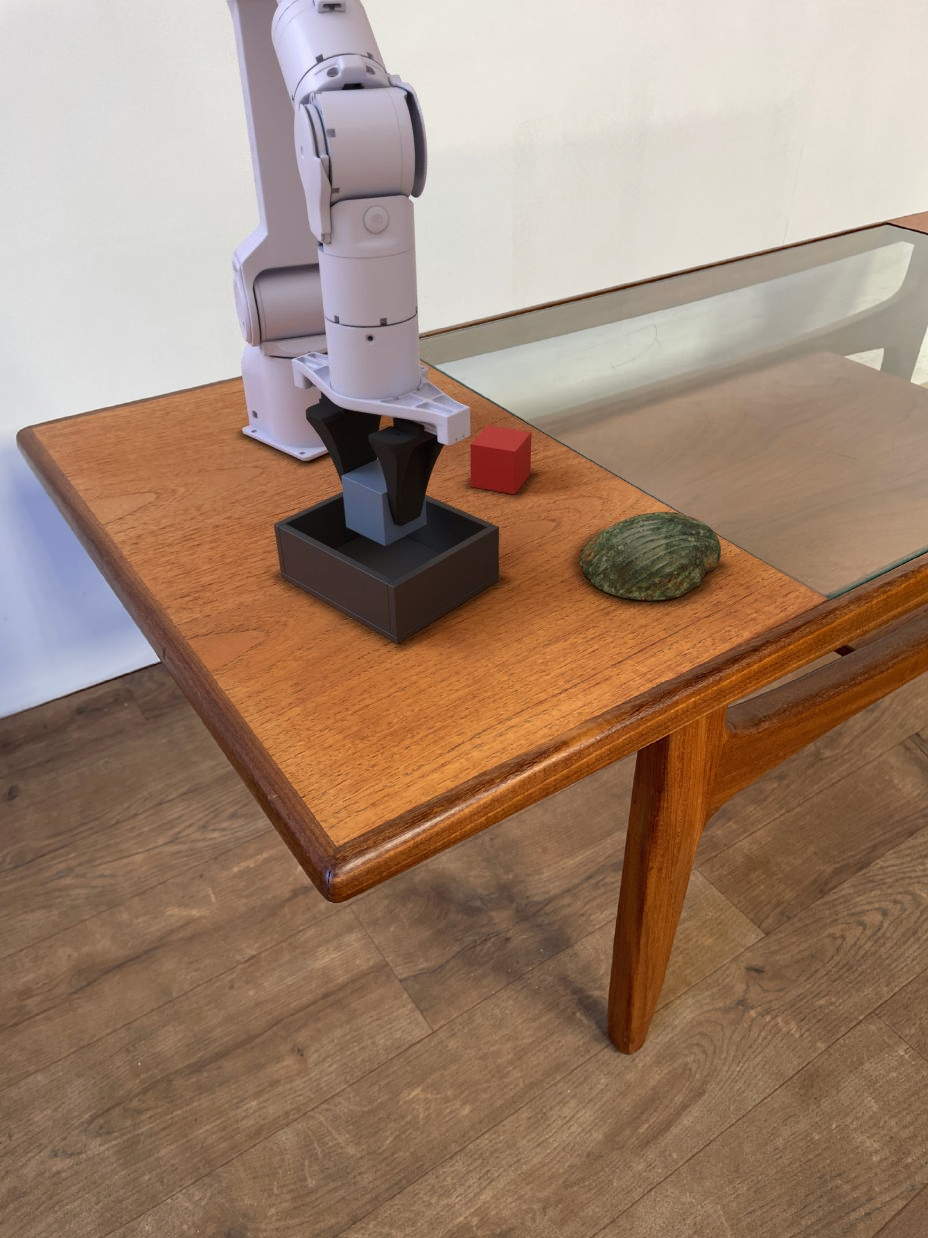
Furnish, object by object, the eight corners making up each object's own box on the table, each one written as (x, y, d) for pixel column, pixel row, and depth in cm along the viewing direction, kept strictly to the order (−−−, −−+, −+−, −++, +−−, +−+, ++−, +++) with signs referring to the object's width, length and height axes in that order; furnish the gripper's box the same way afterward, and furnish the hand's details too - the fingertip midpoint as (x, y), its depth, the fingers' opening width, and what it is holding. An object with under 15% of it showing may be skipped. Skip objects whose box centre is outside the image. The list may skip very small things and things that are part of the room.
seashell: (590, 478, 73) (726, 490, 71) (587, 523, 76) (717, 535, 74) (576, 555, 65) (726, 571, 64) (572, 602, 68) (717, 618, 66)
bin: (281, 577, 70) (273, 523, 68) (382, 524, 76) (379, 473, 74) (397, 644, 63) (393, 587, 61) (499, 580, 69) (499, 526, 67)
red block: (470, 486, 81) (469, 443, 79) (487, 466, 84) (487, 424, 82) (514, 495, 80) (515, 451, 78) (530, 474, 83) (532, 431, 81)
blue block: (346, 527, 67) (340, 475, 65) (387, 506, 70) (384, 455, 67) (385, 546, 65) (381, 494, 63) (426, 524, 67) (424, 472, 65)
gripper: (504, 321, 57) (502, 521, 65) (341, 275, 65) (357, 458, 73) (420, 353, 53) (429, 563, 61) (257, 300, 61) (283, 491, 69)
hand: (384, 509), depth 66 cm, fingers closed on blue block, 4 cm apart
